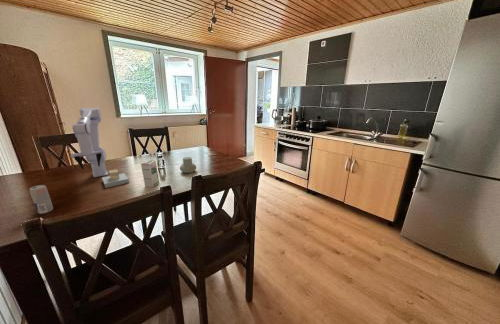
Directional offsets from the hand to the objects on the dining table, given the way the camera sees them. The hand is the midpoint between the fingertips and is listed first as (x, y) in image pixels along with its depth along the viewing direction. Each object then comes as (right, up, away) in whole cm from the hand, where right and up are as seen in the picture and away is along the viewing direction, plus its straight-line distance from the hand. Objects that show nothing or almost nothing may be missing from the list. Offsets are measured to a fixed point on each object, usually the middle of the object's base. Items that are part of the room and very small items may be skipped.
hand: (91, 167), depth 120 cm
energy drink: (0, -19, -26) cm, 33 cm away
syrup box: (+35, -11, +2) cm, 37 cm away
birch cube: (+11, -7, +4) cm, 14 cm away
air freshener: (+51, -4, +23) cm, 56 cm away
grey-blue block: (+11, -9, +5) cm, 16 cm away
